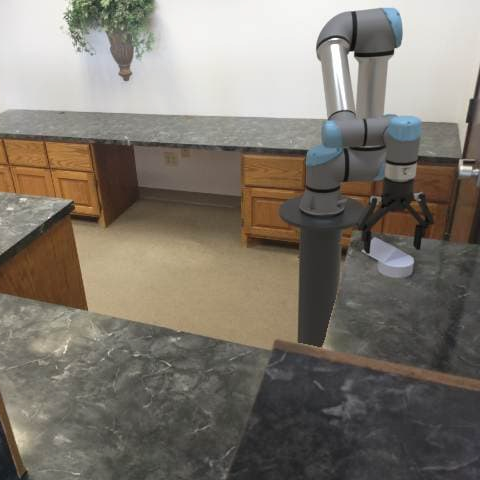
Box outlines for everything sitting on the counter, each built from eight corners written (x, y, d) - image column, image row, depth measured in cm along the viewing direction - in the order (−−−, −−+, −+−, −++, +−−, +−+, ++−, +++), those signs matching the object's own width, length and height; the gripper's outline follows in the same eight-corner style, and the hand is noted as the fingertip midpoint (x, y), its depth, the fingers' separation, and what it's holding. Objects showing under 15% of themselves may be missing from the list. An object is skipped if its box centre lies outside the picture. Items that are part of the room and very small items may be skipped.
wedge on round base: (360, 261, 149) (394, 281, 138) (362, 240, 146) (396, 259, 135) (384, 253, 151) (420, 272, 140) (386, 233, 148) (423, 250, 137)
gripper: (355, 186, 130) (350, 259, 139) (455, 177, 128) (444, 252, 137) (346, 176, 137) (341, 247, 146) (441, 168, 135) (431, 240, 144)
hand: (391, 249), depth 142 cm, fingers open, 13 cm apart
